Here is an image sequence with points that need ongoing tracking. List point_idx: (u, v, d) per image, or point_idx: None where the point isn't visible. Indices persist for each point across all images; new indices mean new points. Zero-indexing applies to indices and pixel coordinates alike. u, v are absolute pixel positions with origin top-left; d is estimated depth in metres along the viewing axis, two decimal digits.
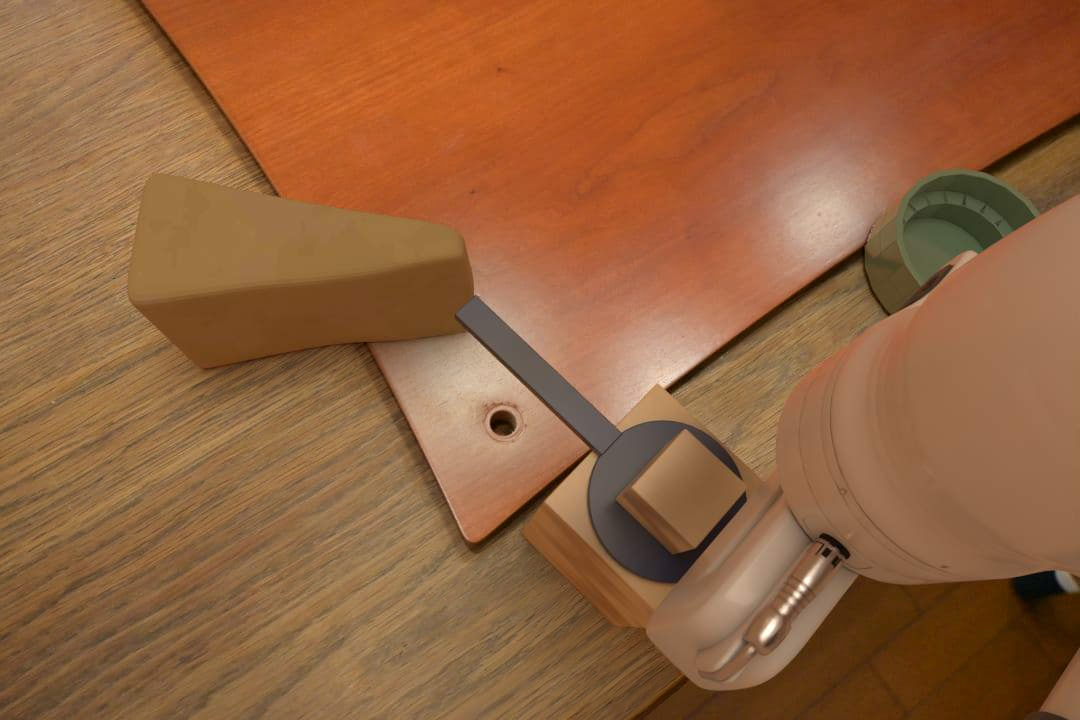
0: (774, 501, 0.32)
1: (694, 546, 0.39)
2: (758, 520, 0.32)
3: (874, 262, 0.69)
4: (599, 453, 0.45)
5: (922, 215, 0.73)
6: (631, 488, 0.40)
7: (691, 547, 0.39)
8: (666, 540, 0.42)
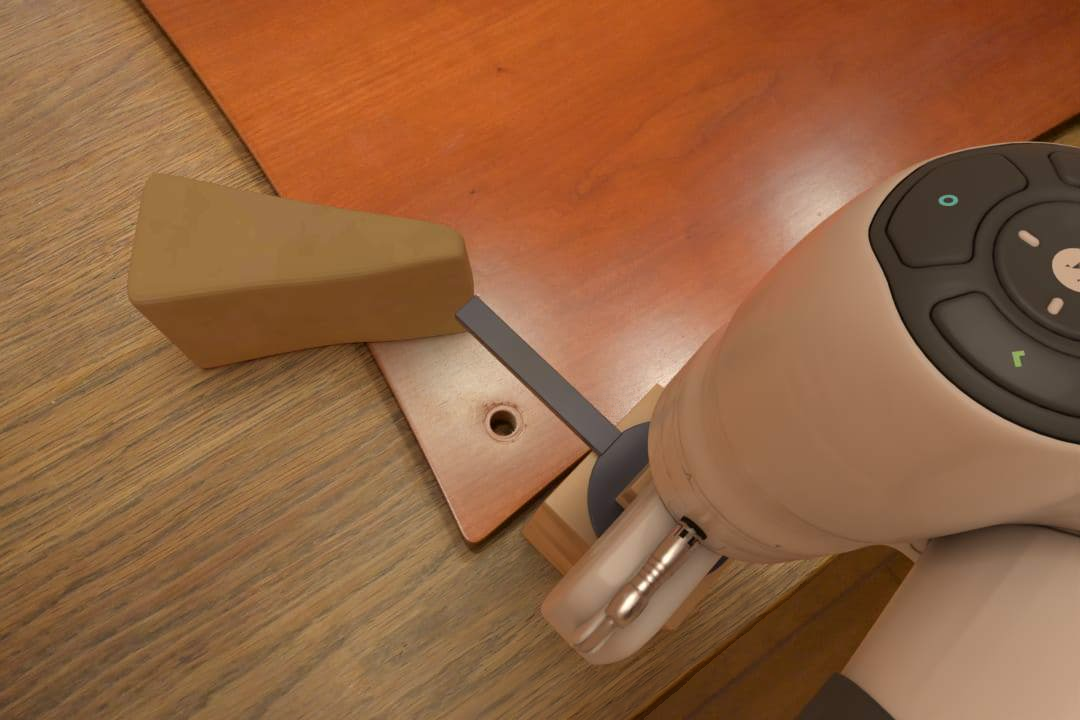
0: None
1: None
2: None
3: None
4: (599, 453, 0.45)
5: None
6: (631, 488, 0.40)
7: None
8: None
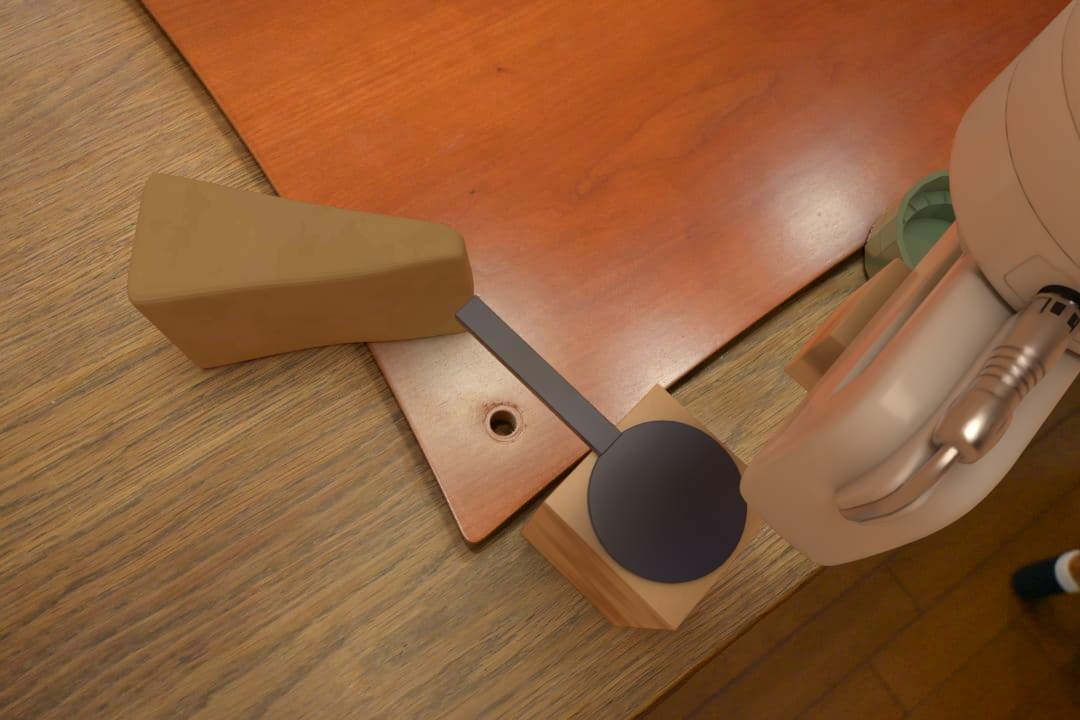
0: (924, 297, 0.22)
1: None
2: (904, 322, 0.22)
3: (874, 262, 0.69)
4: (599, 453, 0.45)
5: (922, 215, 0.73)
6: (829, 336, 0.28)
7: None
8: None
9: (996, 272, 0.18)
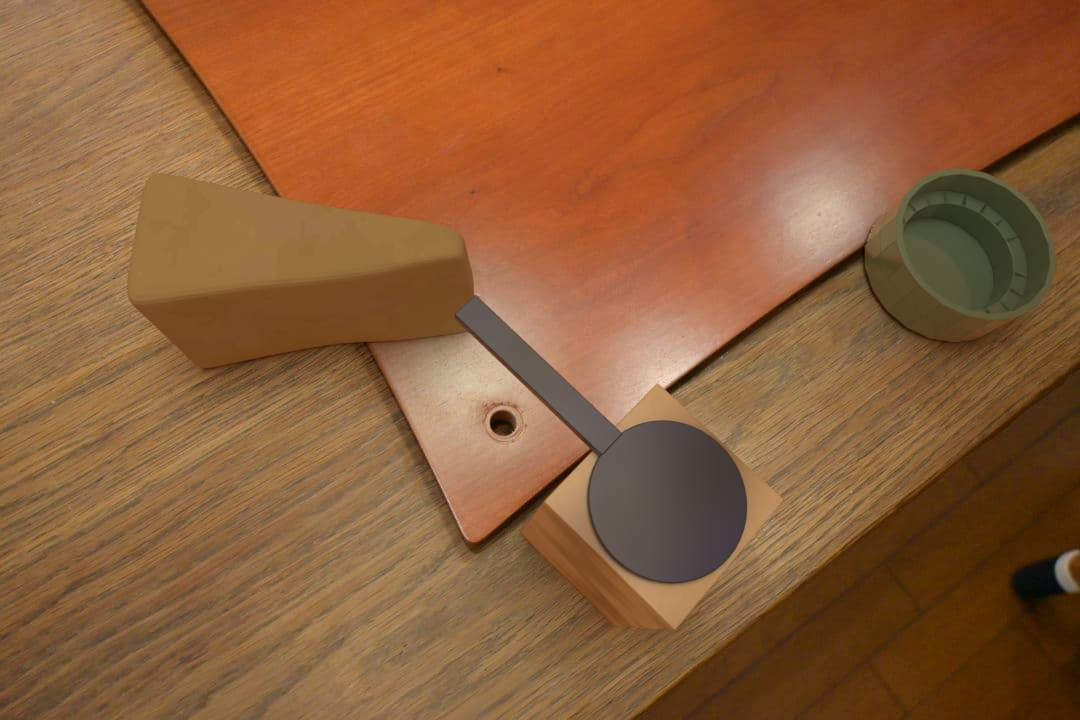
0: None
1: None
2: None
3: (874, 262, 0.69)
4: (599, 453, 0.45)
5: (922, 215, 0.73)
6: None
7: None
8: None
9: None
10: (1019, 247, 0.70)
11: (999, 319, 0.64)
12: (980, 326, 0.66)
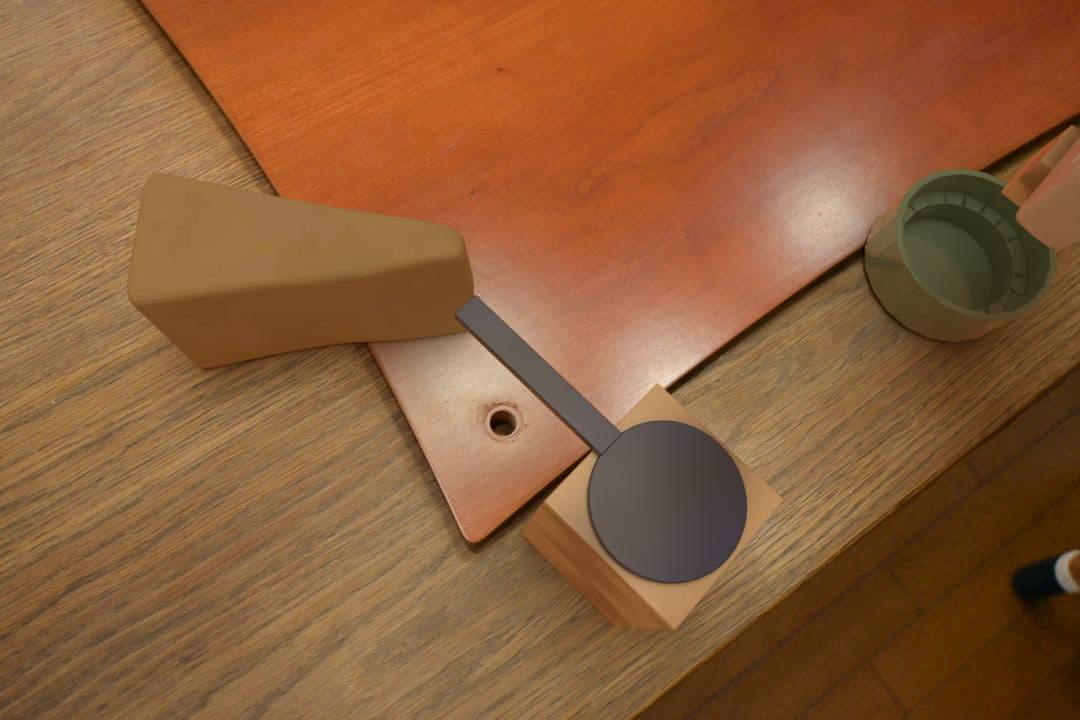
0: None
1: None
2: None
3: (874, 262, 0.69)
4: (599, 453, 0.45)
5: (922, 215, 0.73)
6: (1040, 162, 0.55)
7: None
8: None
9: None
10: (1019, 247, 0.70)
11: (999, 319, 0.64)
12: (980, 326, 0.66)
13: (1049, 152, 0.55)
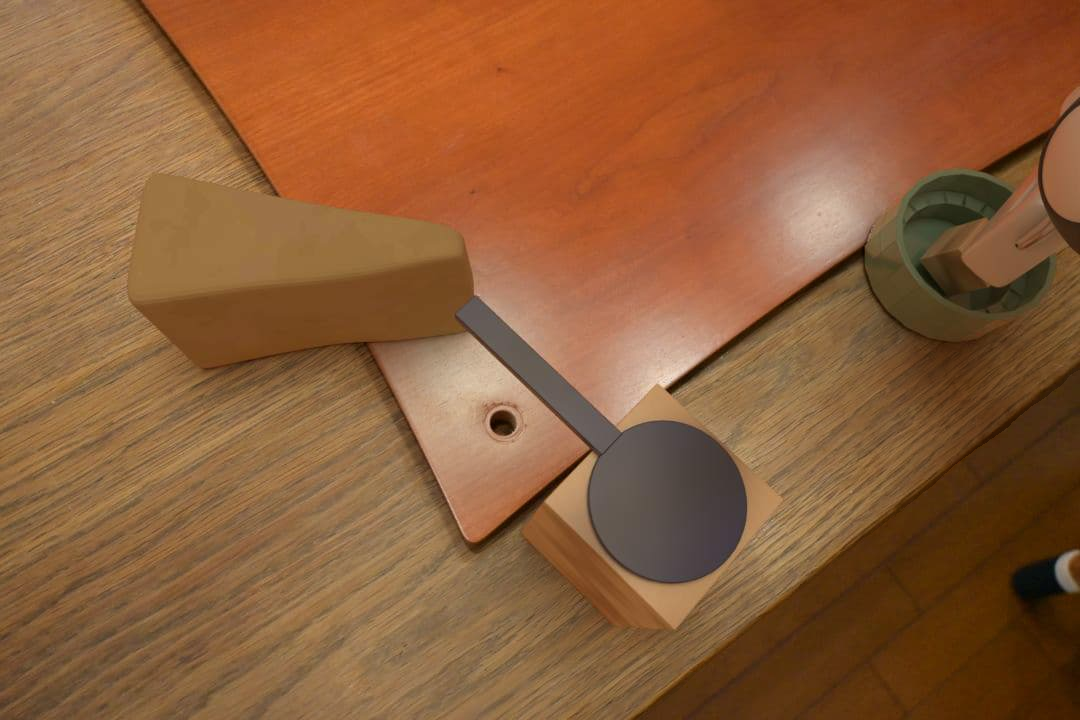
0: None
1: (988, 286, 0.66)
2: (1035, 186, 0.54)
3: (874, 262, 0.69)
4: (599, 453, 0.45)
5: (922, 215, 0.73)
6: (957, 249, 0.66)
7: (984, 287, 0.66)
8: (954, 285, 0.69)
9: None
10: None
11: (999, 319, 0.64)
12: (980, 326, 0.66)
13: (965, 241, 0.66)
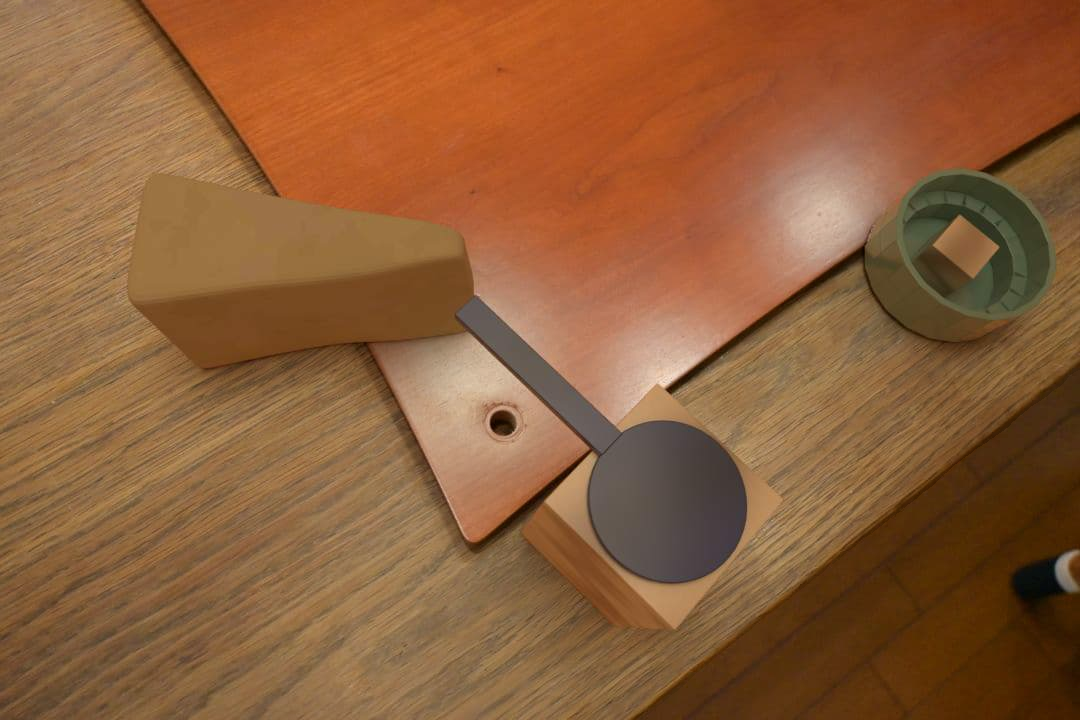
0: None
1: (972, 277, 0.67)
2: None
3: (874, 262, 0.69)
4: (599, 453, 0.45)
5: (922, 215, 0.73)
6: (932, 246, 0.67)
7: (969, 279, 0.67)
8: (944, 284, 0.69)
9: None
10: (1019, 247, 0.70)
11: (999, 319, 0.64)
12: (980, 326, 0.66)
13: (939, 238, 0.68)
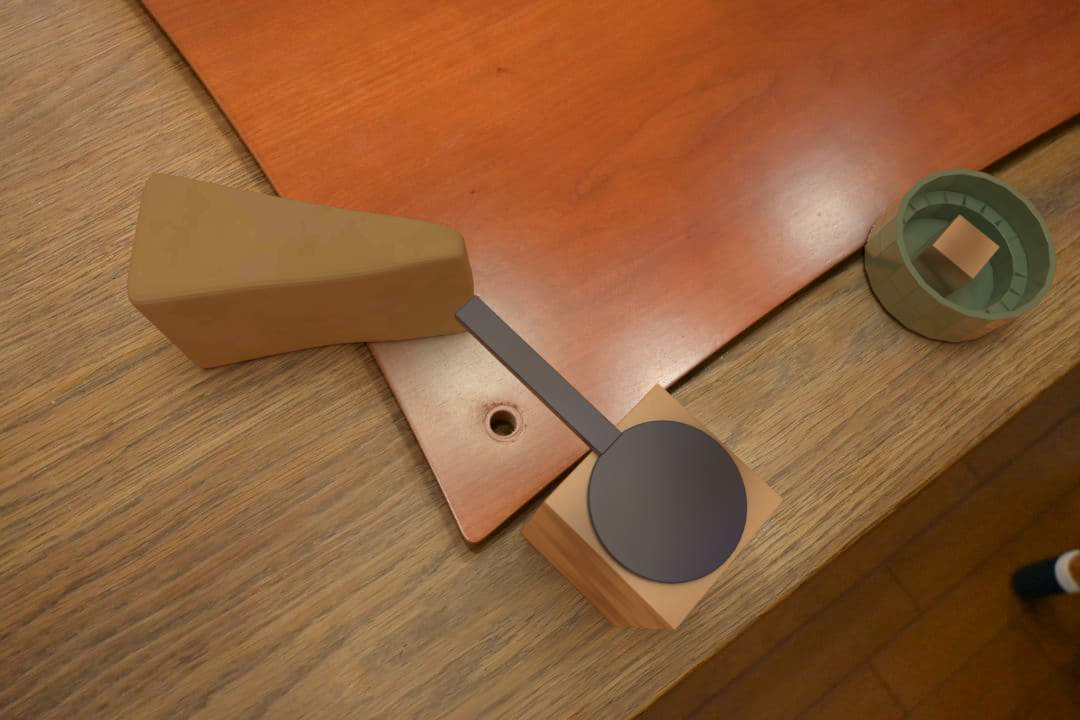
0: None
1: (972, 277, 0.67)
2: None
3: (874, 262, 0.69)
4: (599, 453, 0.45)
5: (922, 215, 0.73)
6: (932, 246, 0.67)
7: (969, 279, 0.67)
8: (944, 284, 0.69)
9: None
10: (1019, 247, 0.70)
11: (999, 319, 0.64)
12: (980, 326, 0.66)
13: (939, 238, 0.68)
